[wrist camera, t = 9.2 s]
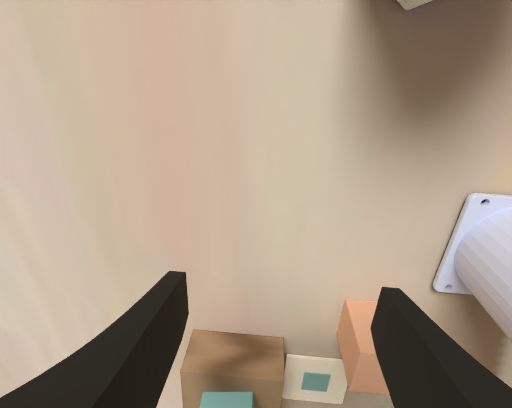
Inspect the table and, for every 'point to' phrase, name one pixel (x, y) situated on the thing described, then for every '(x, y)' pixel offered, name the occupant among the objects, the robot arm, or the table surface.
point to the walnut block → (233, 367)
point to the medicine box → (412, 3)
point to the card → (314, 379)
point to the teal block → (227, 400)
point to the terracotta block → (360, 348)
